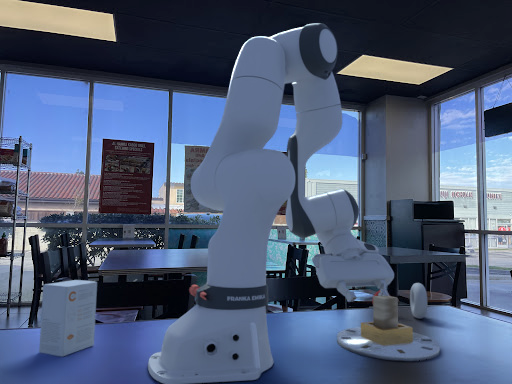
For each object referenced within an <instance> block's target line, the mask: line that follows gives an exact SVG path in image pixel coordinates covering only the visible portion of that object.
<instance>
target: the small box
mask: <svg viewBox="0 0 512 384" xmlns="http://www.w3.org/2000/svg"><path fill="white" fill-rule="evenodd" d="M97 292H98V281H94V280H93V281H92V280H85V279H84V280H83V279H82V280H81V279H74V280H73V279H72V280H65V281H59V282H53V283H45V284H42V299H41V300H42V301H41V314H40V315H41V317H40V319H41V320H40V330H39V331H40V332H39V333H40V335H39V349H38V350H39V351H38V352H39V353H40V354H45V355H46V354H47V355H51V356H55V357H63V358H64V357H65V356H68V355H70V354H74V353H76V352H78V351H81V350H85V349H87V348H90V347H92V346H95V335H96V334H95V332H96V331H95V330H96V312H97V311H96V310H97V296H98V295H97Z"/></svg>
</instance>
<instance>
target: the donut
mask: <svg viewBox="0 0 512 384" xmlns="http://www.w3.org/2000/svg"><path fill="white" fill-rule="evenodd" d="M409 305H410V311H411V314H412V316H413V317H414V318H416V319H419V320H420V319H421V320H422V319H423V318H425V316H426V314H427V311H428V293H427V290H426V287H425V286H424V284H422V283H420V282H415V283H413V284H412V286H411V288H410V293H409Z"/></svg>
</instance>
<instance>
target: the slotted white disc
mask: <svg viewBox="0 0 512 384" xmlns="http://www.w3.org/2000/svg"><path fill="white" fill-rule="evenodd" d="M336 339H337V340H336V341H337V344H338V345H339V346H340V347H341V348H343V349H344V350H347V351H349V352H351V353H354V354H358V355H360V356H364V357H368V358H373V359H379V360H386V361H398V362H417V361H418V362H419V360H420V361H426V359H427V360H430V359H434V358H435V357H438V356H439V355H440V343H439V342H437V341H436V340H435V339H433V338H432V337H429V336H427V335H424V334H421V333H419V332H415V331H413V326H410V325H406V324H403V323H400V322H398V328H387V329H382V328H379V327H377V326H374V320H373V321H362V322H360V326H358V327H357V326H356V327H350V328H345V329H342V330H341V331H339V332H338V333H337V336H336Z"/></svg>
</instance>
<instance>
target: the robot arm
mask: <svg viewBox="0 0 512 384" xmlns="http://www.w3.org/2000/svg"><path fill="white" fill-rule="evenodd" d="M337 42H338V41H337V39H336V36H335V34H334V32H333V31H332V29H330V28H329V27H328V26H327V25H326V24H324V23H320V22H319V23H318V22H317V23H309V24H308V23H307V24H306V25H304V26H302V27H297V28H292V29H289V30H286V31H282V32H278V33H277V34H274V35H272V36H261V35H260V36H254V37H250V38H249V39H248V40H247V41H245V42H244V44H243V45H242V46H241V49H240V51H239V53H238V56H237V58H236V60H235V63H234V66H233V69H232V73H231V78H230V81H229V87H228V90H227V95H226V100H225V103H224V104H225V105H224V109H223V114H222V117H221V120H220V123H219V126H218V128H217V131H216V133H215V135H214V137H213V139H212V142H211V144H210V146H209V148H208V150H207V152H206V154H205V157H204V159H203V160H202V162H201V163H200V164H199V166H197V167H196V169H194V172H193V173H192V175H191V178H190V190H191V194H192V197H193V198H194V199H195V201H196V202H197V203H198V204H199V205H201V206H203V207H205V208H208V209H210V210H213V211H214V210H215V211H218V212H219V211H220V212H221V211H222V215H221V217H220V222H219V225H218V227H217V229H216V231H215V233H214V234H213V235H212V236H211V237H210V239H209V241H208V244H207V247H208V249H207V269H206V270H207V271H206V272H207V273H206V276H207V277H206V283H204V284H203V285H202V286H199V285H197V284H192V285H191V287H189V289H188V291H189V293H190V295H191V296H193V297H195V305H194V306H193V307H191V308H190V309H189V310H188V311H187V312H186V313H184V314H183V315H182V316H180V317H179V318H178V319H177V320H175V321H174V322H173V323H172V324H170V325H169V326H168V327H167V329H166V331H165V333H164V337H163V340H162V344H161V345H162V346H161V351H158V352H155V353H153V354H152V355H151V356H150V357H149V359H148V363H147V369H148V372H149V375H150V376H151V377H152V378H153V379H154V380H156V381H157V382H158V383H162V384H202V383H203V384H204V383H219V382H220V383H221V382H222V383H224V382H225V383H226V382H240V381H254V380H259V378H260V377H261V375H262V374H263V372H265V371H267V370H269V369H270V368H272V367H273V364H274V358H273V355H272V351H271V346H270V341H269V333H268V325H267V324H268V323H267V322H268V321H267V314H268V311H269V309H268V308H269V285H268V284H267V282H266V281H267V256H268V243H269V237H270V234H271V231H272V227H273V224H274V221H275V219H276V216H277V215H278V212H279V211H280V209H281V207H282V206H283V205H284V204H285V206H286V207H285V222H286V226H287V228H288V230H289V232H290V233H291V234H293V235H294V236H297V237H298V238H302V239H307V238H309V237H312V236H314V235H316V237H317V239H318V241H319V242H320V244H322V247H323V251H324V253H316V254H315V255H313V256H312V258H311V261H312V263H313V266H314V267H315V271H316V272H315V273H316V275H317V278H318V281H319V284H320V286H321V287H323V288H324V289H336V290H337V292H338V293H340V294H341V295H342V296H343V297H345V299H346V301H347V302H348V303H350V302H351V303H352V302H355V301H356V299H357V296H356V294H355V291H351V290H350V289H349V288H357V287H359V288H360V287H362V288H363V287H377V289H379V290H380V293H379V294H378V295H379V296H387V295H388V296H389V295H390V293H389V292H388V291H387V288H388V286H389V285H390V284H391V283H392V281H393V280H394V279H395V272H394V270H393V269H392V267H391V265H390V263H389V262H388V261H387V259H386V258H385V257H384V256H383V255H381V254H380V253H379V252H380V249H379V247H378V246H377V245H375V244H372V243H368V242H365V241H362V240H360V239H358V238H356V237H355V235H354V234H352V229H353V228H354V227H355V224H356V222H357V221H358V219H359V216H360V209H359V205H358V203H357V200H356V199H355V197H354V196H353V195H352V194H351V192H350V191H348V190H346V189H343V188H339V189H334V190H329V191H325V192H323V193H318V194H314V195H311V196H306V195H305V193H306V192H305V191H306V185H305V182H306V181H305V180H306V179H305V173H306V172H305V169H306V164H307V162H308V161H309V159H310V158H311V157H312V156H313V155H315V153H317V152H318V151H320V150H321V149H322V148H324V147H326V146H327V145H329V144H331V142H332V141H333V140H334V139H335V138H336V137H337V136H338V135H339V133H340V132H341V130H342V127H343V111H342V104H341V103H342V102H341V99H340V93H339V89H338V84H337V82H336V78H335V76H334V73H333V69H334V68H335V66H336V63H337V59H338V55H339V54H338V53H339V50H338V49H339V48H338V43H337ZM286 84H291V85H292V88H293V102H294V110H295V116H296V124H295V129H294V130H293V131H294V132H293V133H292V134H291V135H290V137H289V138H288V139H287V144H286V145H287V146H286V154H285V153H284V152H282V151H280V150H277V149H268V148H265V146H266V145H267V143H268V142H269V141H270V140H272V138H273V136H274V135H275V134H276V132H277V130H278V127H279V121H280V115H281V109H282V103H283V98H284V97H283V96H284V91H285V85H286ZM285 202H286V203H285ZM388 293H389V294H388Z"/></svg>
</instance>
